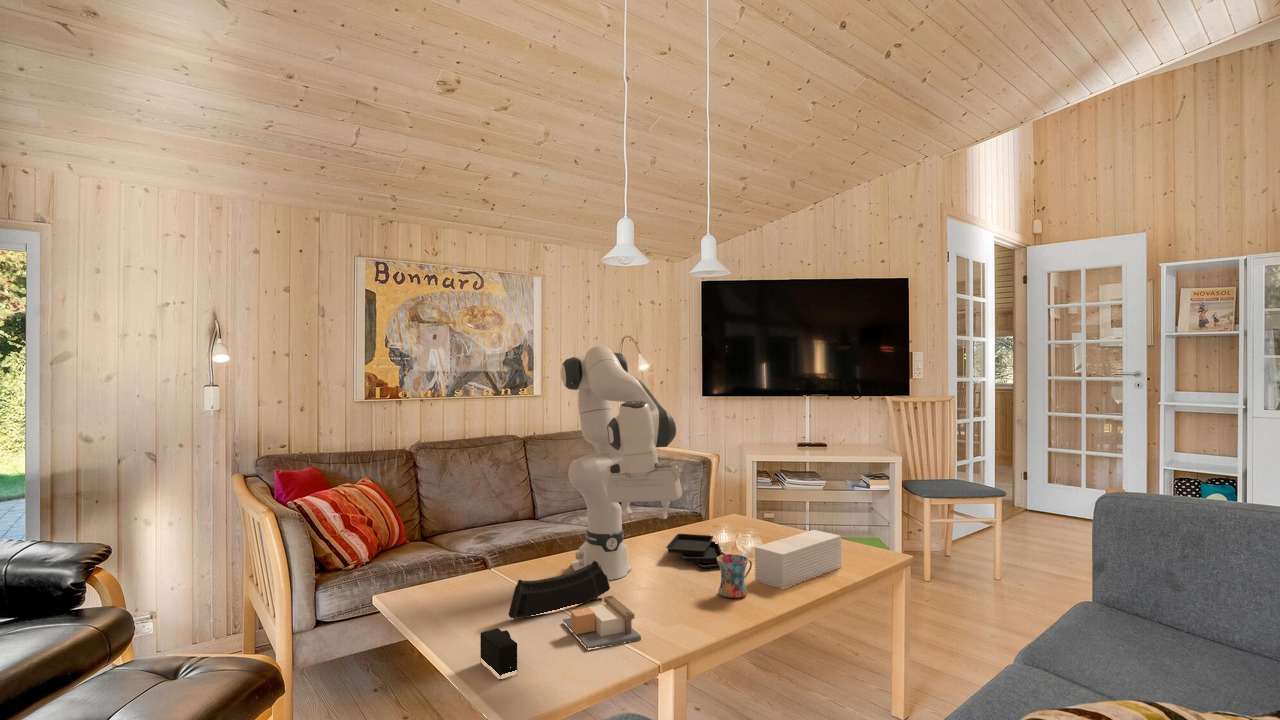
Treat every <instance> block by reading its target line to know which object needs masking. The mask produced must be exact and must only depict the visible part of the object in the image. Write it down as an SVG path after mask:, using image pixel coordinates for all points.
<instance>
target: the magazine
mask: <svg viewBox="0 0 1280 720" xmlns="http://www.w3.org/2000/svg"><path fill="white" fill-rule="evenodd" d="M610 589H611V587H610V582H609V580H608V579H607V575H605V573H604V571H603V568H602V566H601V564H600V567H599V564H598V562H597V561H593V563H592V564H590V565H587V566H586V567H583V568H581V569H579V570H576V571H574V570H573V571H570V572H569V573H565V574H562V575H557V576H554V577H553V576H552V577H548V578H543V579H536V580H535V579H533V580H522V579H518V581H517V583H516V585H515V588H514V591H513V595H512V599H511V603H510V607H509V611H508V617H509V618H510V619H512V618H513V620H515V619H521V617H522V618H528V617H527V616H531V615H536V614H540V613H544V612H548V611H552V610H557V609H560V608H563V607H567V606H571V605H575V604H580V603H583V604H586V603H587V602H589V601H592V600H594V599H595V598H596V599H595V600H597V598H598V599H599V597H600V596H601V595H603V594H605V593H606V592H608V591H609V590H610Z"/></svg>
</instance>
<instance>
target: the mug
mask: <svg viewBox="0 0 1280 720" xmlns="http://www.w3.org/2000/svg"><path fill="white" fill-rule="evenodd" d="M717 561H718V562H717V564H719V567H720V569H719V570H720V585H719V587H718V589H717V591H718V594H719V595H720V596H722V597H725V598H731V599H739V598H742V597H745V596H746V595H747V594H748V590H747V588H746V584H745V579H746V578H747V577H748V575H749V574H750V572H751V570H752V567H753V563H752V561H751V560H750V559H749V558H748V557H747V556H745V555H742V554H736V553H724V555H720V556H718V557H717ZM748 563H749V566H748V570H747V571H746V567H747V565H748ZM745 572H746V573H745Z"/></svg>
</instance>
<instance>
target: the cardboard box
mask: <svg viewBox="0 0 1280 720" xmlns="http://www.w3.org/2000/svg"><path fill="white" fill-rule="evenodd" d="M570 618H571V629H572V630H573V631H574V633H575V634H582V633H587V632H592V631H595V612H593V611H592V610H591V609H590V608H581V609H574V610H570Z"/></svg>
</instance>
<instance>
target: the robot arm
mask: <svg viewBox="0 0 1280 720" xmlns="http://www.w3.org/2000/svg"><path fill="white" fill-rule="evenodd" d="M626 358H627V357H625V355H624V354H622V353H619V352H614V351H612V349H611V348H609V347H608V346H605V345H595V346H593V347H591V348H589V350H588V351H587V352H586V354H585V355H581V356H577V357H575V356H573V357H569V358H567V359H565V360H564V361H563V362H562V363H561V368H560V378H561V381H562V383H563V385H564V387H566V389H567V390H571V391H578V394H577V395H578V399H577V401H578V414H579V419H580V421H579V422H580V428H581V429H580V430H581V435H582V438H583V439H584V440H585V441H586V442H588V443H589V444H591V445H593V446H594V448H595V450H596V451H597V454H589V455H588V454H587V455H585V456H584V455H583V456H581V457H578V458H575V459H574V460H572V461H571V463H570V465H569V467H568V472H567V473H568V475H567V476H568V479H569V483H570V484H571V485H572V486H573V488H574V489H576V490H577V491H578V492H579V493H580V495H582V497H583V500H584V501H585V505H586V511H587V513H586V515H587V529H586V533H585V538H584V539H585V541H584V542H583V543H582V545H581V546H579V548H578V551H576V552H575V560H574V561H573V560H572V561H571V566H572V569H573V572H574V571H576V570H579V569H581V568H583V567H586V566H587V565H590V564H592V563H593V561H597V562H598V564H599V567H600V564H601V566H602V568H603V571H604V573H605V575H607V579H608V581H610V580H617V579H621V578H624V577H625V576H627V574H628V573H629V572H631V571H632V570H633V569H632V566H631V565H629V560H628V547H627V544H625V543H624V530H623V527H622V526H623V524H622V523H623V522H622V520H623V518H622V515H623V514H622V513H623V511H624V512H625V514H626V520H634V519H636V515H635V514H636V512H635V511H632V509H631V507H630V505H631V503H633V502H635V503H637V502H638V503H639V502H660V503H661V506H662V509H661V511H659V512H658V519H660V520H666V519H667V518H668V510H669V507H670V505H671V501H673V502H675V501H677V500H679V499H681V498H682V496H683V488H682V484H681V481H680V472H679V467H678V466H677V465H676V464H674V463H673V462H665V463H664V462H659V460H658V452H657V450H658V449H657V448H666V447H669V445H670V444H671V443H672V442H673V441H674V440H675V438H676V435H677V427H676V423H675V420H674V418H673V416H672V415H671V414H670V413H669V412H668V411H667V410H665V408H664V407H662V405H661V404H660V403H659V401H658V400H657V399H656V397H655V396H654V394H653V393H652V392H651V391H650V389H649V388H648V387H647V386H646V384H645V383H644V382H643V381H642V380H641V379H638V378H637V377H635V376H633V375H632V374H630V373H629V364H628V361H627V359H626ZM612 402H619V403H620V402H622V403H621V404H620V405H619V409H618V415H617V416H614V413H613V407H612ZM620 503H621V504H620ZM622 510H623V511H622Z"/></svg>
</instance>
